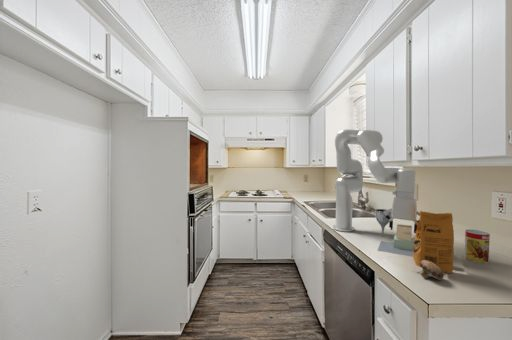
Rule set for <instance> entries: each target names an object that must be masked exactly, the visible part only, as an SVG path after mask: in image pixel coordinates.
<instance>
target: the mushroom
mask: <svg viewBox="0 0 512 340" xmlns="http://www.w3.org/2000/svg"><path fill="white" fill-rule="evenodd" d="M419 264H420V266H421V267H420V268H421V269H422V270H421V271H419V273H420V276H421V277H422V278H424V279H428V278H434V279H436V280H438V281H441V280H443V279H444V271H442V270H441V269H440V268H439V267H438V266H437V265H435V264H434V263H432V262H431V261H428V260H422V261H420V263H419Z"/></svg>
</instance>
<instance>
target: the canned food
mask: <svg viewBox="0 0 512 340" xmlns="http://www.w3.org/2000/svg"><path fill="white" fill-rule="evenodd" d="M490 235H491V233H490V232H488V231H484V230H479V229H465V233H464V236H465V237H464V259H465V260H468V261H470V262H474V263H479V264H488V263H489V261H490V257H489V255H490V238H491V237H490Z"/></svg>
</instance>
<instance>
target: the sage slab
mask: <svg viewBox="0 0 512 340" xmlns="http://www.w3.org/2000/svg"><path fill="white" fill-rule="evenodd" d="M396 238H397V234H395V235H394V236H393V243H394V247H393V248H399V249H405V250H411V251H413V247H414V240H415V237H413V236H412V237H411V241H407V240H400V239H396Z"/></svg>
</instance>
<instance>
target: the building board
mask: <svg viewBox="0 0 512 340" xmlns="http://www.w3.org/2000/svg"><path fill="white" fill-rule="evenodd" d="M393 247H394V242H392V241H391V242H390V241H385V240H380V243H379V245H378V248H377V251H378V252H383V253H390V254H395V255H401V256H406V257H412V258H413V251H411V250H405V249H399V248H393Z"/></svg>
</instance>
